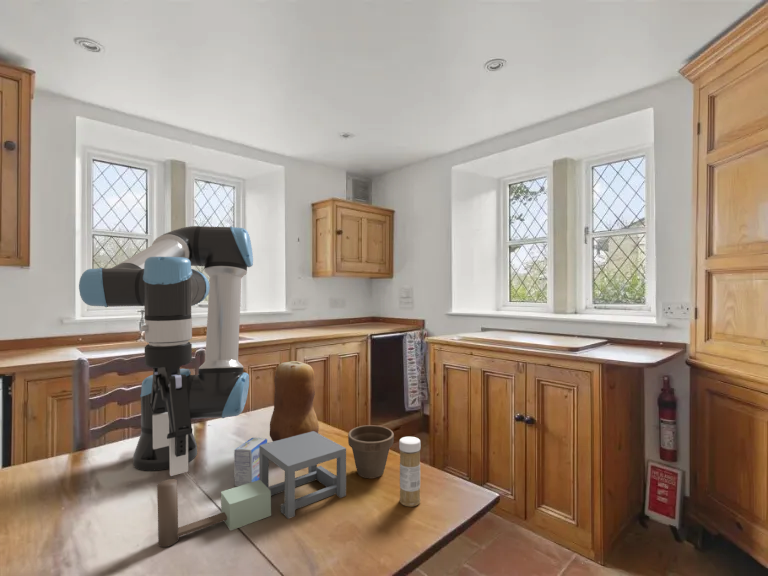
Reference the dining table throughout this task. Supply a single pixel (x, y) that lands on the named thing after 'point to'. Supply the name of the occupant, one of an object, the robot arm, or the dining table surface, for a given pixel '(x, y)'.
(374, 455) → the flower pot
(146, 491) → the dining table surface
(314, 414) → the butternut squash
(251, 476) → the medicine box
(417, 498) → the sprinkles bottle
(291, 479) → the grey step stool
